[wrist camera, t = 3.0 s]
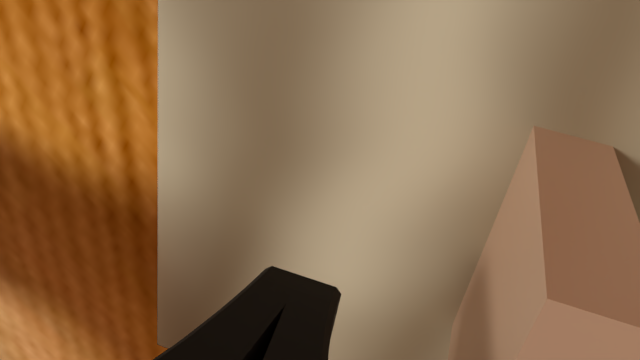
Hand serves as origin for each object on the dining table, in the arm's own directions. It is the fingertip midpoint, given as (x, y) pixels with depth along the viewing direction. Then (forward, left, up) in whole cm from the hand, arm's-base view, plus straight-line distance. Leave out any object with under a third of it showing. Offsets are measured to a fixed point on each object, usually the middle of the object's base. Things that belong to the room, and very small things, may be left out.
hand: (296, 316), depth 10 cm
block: (+4, 0, -4) cm, 6 cm away
